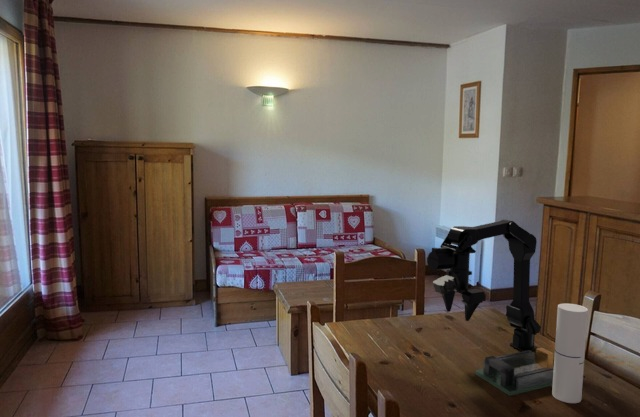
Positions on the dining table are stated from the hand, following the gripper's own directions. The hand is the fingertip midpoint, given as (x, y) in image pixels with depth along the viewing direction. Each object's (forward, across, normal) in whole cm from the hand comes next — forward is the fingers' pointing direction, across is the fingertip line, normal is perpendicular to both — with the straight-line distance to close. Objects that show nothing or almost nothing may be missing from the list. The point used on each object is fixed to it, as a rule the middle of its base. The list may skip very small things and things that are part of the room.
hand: (457, 316), depth 153 cm
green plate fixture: (+15, +17, +10) cm, 25 cm away
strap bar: (+13, +17, +13) cm, 25 cm away
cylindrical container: (+15, +30, +14) cm, 36 cm away
